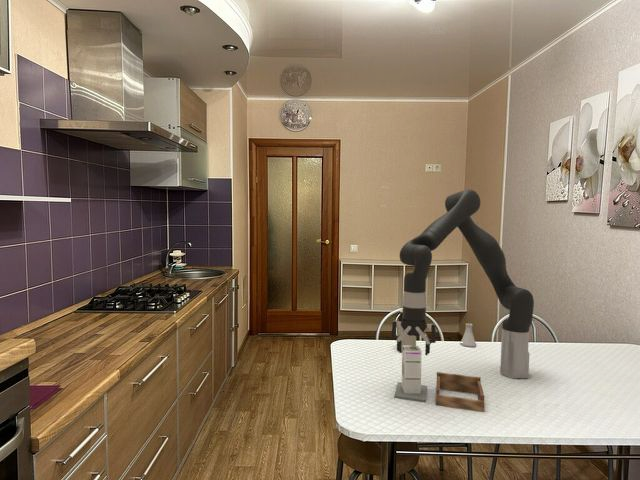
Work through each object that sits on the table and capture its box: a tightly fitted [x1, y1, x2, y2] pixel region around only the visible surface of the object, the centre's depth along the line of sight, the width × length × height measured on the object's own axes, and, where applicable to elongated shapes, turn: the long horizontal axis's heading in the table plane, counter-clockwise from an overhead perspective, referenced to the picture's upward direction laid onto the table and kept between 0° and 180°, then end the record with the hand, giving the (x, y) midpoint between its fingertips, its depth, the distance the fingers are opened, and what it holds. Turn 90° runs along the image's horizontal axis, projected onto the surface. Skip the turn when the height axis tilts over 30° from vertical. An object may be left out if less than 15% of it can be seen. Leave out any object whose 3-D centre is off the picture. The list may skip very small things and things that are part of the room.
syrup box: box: [401, 345, 423, 394], centre depth 135 cm, size 6×6×14 cm
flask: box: [459, 322, 477, 348], centre depth 190 cm, size 7×7×10 cm
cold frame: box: [435, 371, 485, 413], centre depth 130 cm, size 14×14×6 cm
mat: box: [393, 381, 428, 403], centre depth 135 cm, size 10×12×1 cm
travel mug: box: [397, 308, 417, 353], centre depth 179 cm, size 8×8×18 cm
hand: (413, 353), depth 134 cm, fingers open, 8 cm apart
